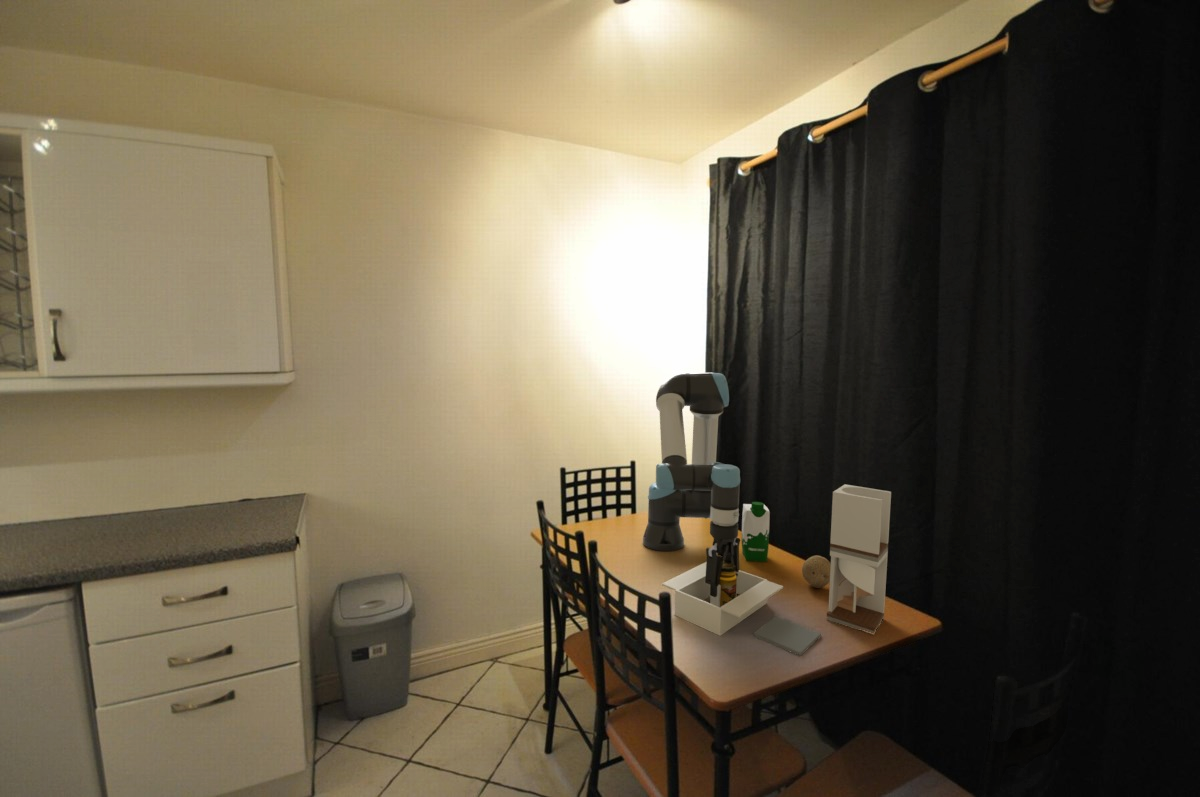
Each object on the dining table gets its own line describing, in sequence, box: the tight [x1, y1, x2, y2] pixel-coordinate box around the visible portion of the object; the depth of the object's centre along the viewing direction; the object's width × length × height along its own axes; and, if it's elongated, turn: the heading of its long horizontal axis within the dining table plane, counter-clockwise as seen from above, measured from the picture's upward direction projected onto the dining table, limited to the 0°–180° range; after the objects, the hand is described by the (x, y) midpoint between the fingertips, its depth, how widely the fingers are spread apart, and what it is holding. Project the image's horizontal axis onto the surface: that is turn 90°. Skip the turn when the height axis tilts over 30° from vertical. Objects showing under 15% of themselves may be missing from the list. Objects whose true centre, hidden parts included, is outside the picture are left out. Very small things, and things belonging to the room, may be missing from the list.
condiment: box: [705, 561, 737, 607], centre depth 143 cm, size 7×8×12 cm
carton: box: [661, 561, 784, 637], centre depth 143 cm, size 24×24×7 cm
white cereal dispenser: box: [826, 483, 892, 633], centre depth 136 cm, size 11×11×35 cm
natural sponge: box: [801, 555, 831, 589], centre depth 156 cm, size 9×9×10 cm
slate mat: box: [753, 615, 822, 656], centre depth 130 cm, size 12×12×1 cm
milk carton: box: [741, 501, 771, 563], centre depth 179 cm, size 9×9×20 cm
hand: (721, 602), depth 143 cm, fingers closed on condiment, 6 cm apart
